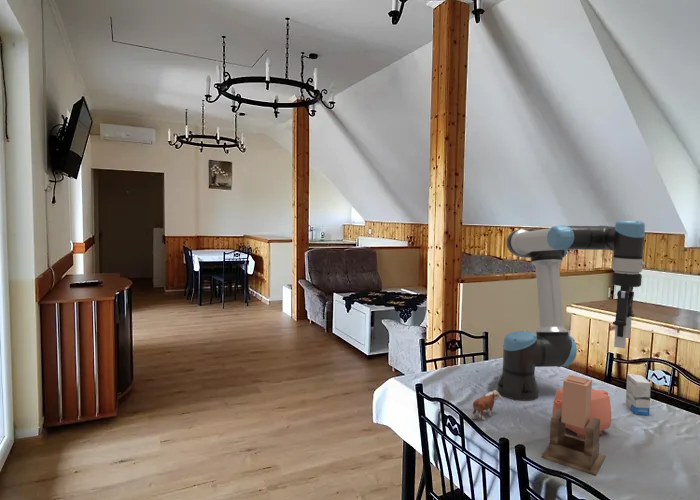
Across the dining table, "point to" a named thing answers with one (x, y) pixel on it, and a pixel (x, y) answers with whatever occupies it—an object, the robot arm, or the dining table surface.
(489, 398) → the bull figurine
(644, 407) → the ink box
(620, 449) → the dining table surface
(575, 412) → the block
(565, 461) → the wooden slotted stand
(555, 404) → the teapot
